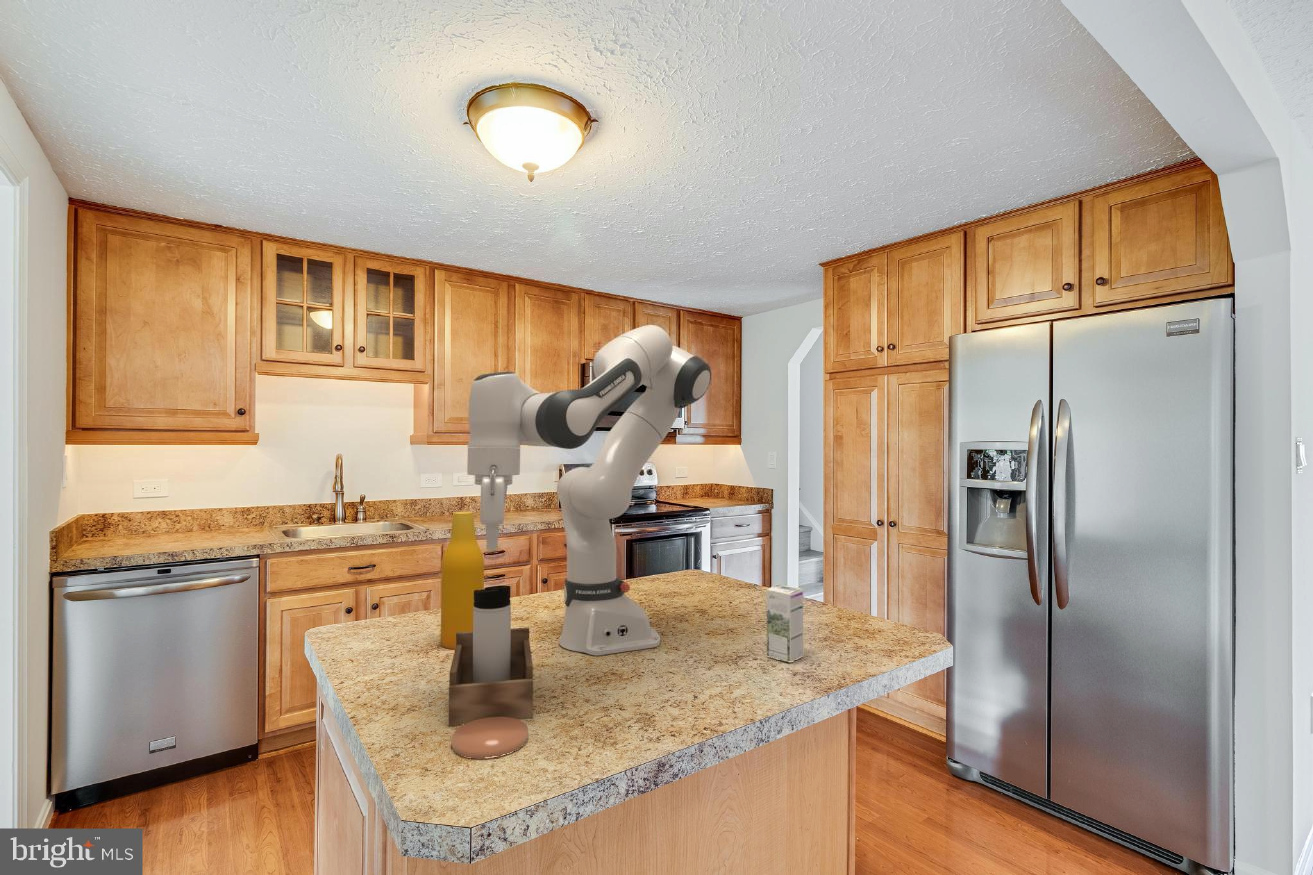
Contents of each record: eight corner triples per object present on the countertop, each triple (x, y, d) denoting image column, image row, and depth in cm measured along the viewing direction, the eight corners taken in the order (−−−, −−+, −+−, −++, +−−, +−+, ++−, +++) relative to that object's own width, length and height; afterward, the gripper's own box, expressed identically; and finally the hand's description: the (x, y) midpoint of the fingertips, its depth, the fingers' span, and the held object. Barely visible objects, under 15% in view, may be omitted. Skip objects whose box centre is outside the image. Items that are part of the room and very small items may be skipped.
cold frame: (528, 681, 117) (529, 627, 117) (532, 717, 101) (533, 655, 101) (456, 687, 114) (456, 632, 114) (448, 726, 98) (449, 662, 98)
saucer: (526, 720, 100) (526, 713, 100) (529, 754, 89) (529, 745, 89) (454, 728, 97) (454, 720, 97) (448, 763, 87) (448, 754, 87)
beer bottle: (450, 652, 132) (451, 515, 132) (433, 642, 139) (434, 512, 139) (491, 643, 138) (492, 512, 139) (472, 634, 145) (473, 509, 146)
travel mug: (492, 712, 103) (492, 591, 103) (464, 703, 106) (465, 586, 107) (519, 699, 108) (519, 584, 108) (492, 691, 112) (493, 579, 112)
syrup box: (804, 657, 130) (804, 587, 131) (789, 664, 126) (789, 592, 126) (780, 651, 134) (780, 583, 134) (765, 657, 130) (765, 588, 130)
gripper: (513, 467, 98) (512, 554, 98) (512, 463, 118) (510, 536, 118) (471, 466, 97) (470, 556, 97) (477, 463, 117) (476, 536, 117)
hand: (492, 545), depth 108 cm, fingers open, 8 cm apart
